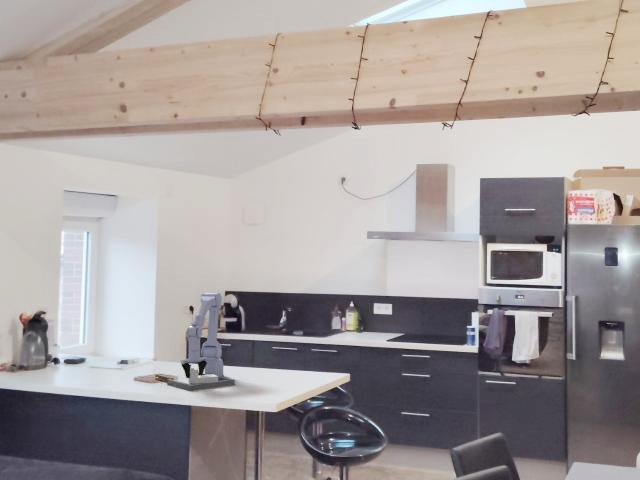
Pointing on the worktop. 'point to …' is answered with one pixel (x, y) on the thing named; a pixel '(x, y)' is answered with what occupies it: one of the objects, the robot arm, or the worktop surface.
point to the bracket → (201, 377)
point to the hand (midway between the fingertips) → (194, 376)
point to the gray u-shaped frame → (221, 382)
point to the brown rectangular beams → (164, 377)
